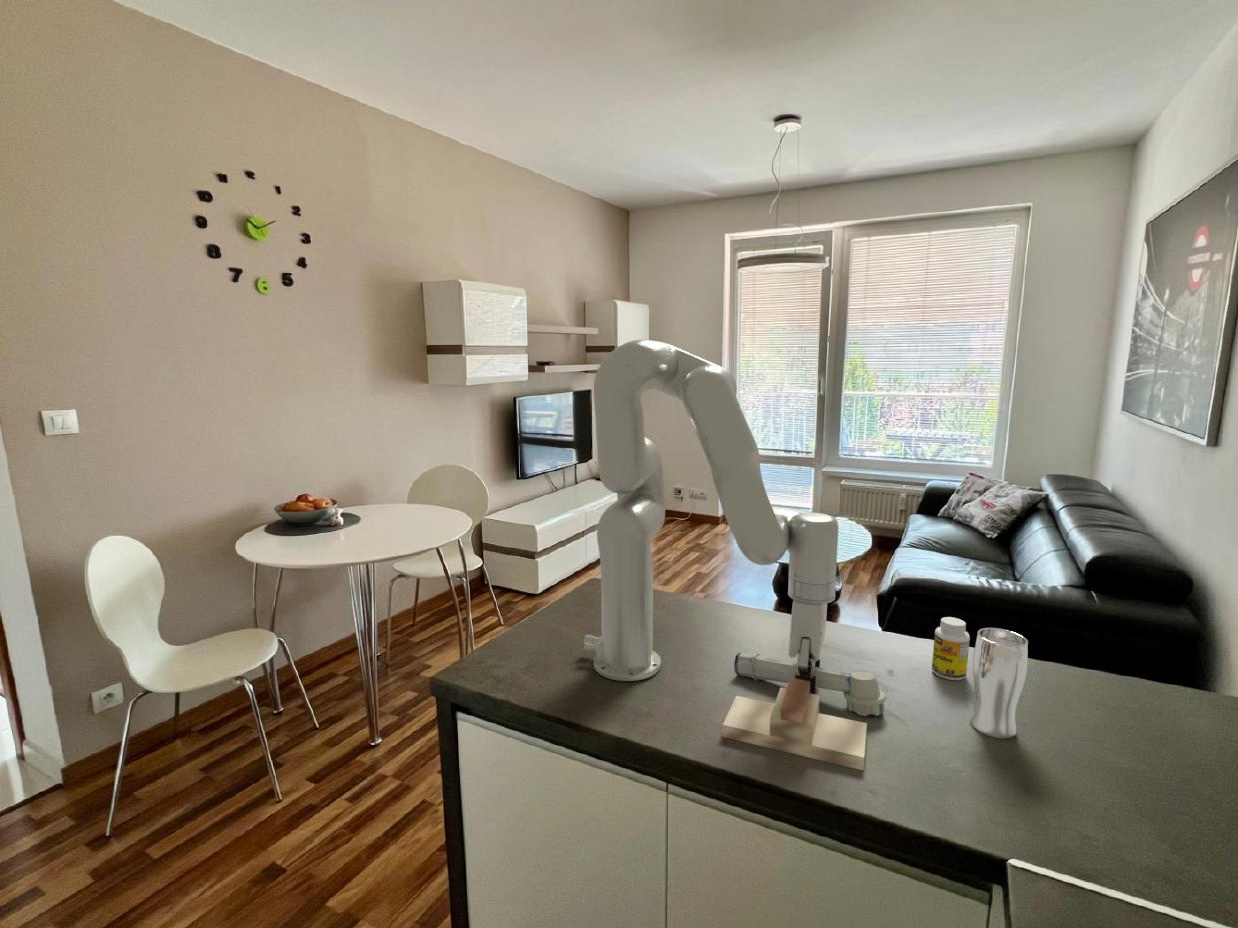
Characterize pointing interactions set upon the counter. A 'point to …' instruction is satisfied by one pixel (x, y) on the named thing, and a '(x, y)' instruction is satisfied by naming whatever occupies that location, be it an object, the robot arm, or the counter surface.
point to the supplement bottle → (951, 649)
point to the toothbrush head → (818, 681)
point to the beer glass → (998, 680)
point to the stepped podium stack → (797, 727)
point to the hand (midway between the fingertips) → (807, 687)
